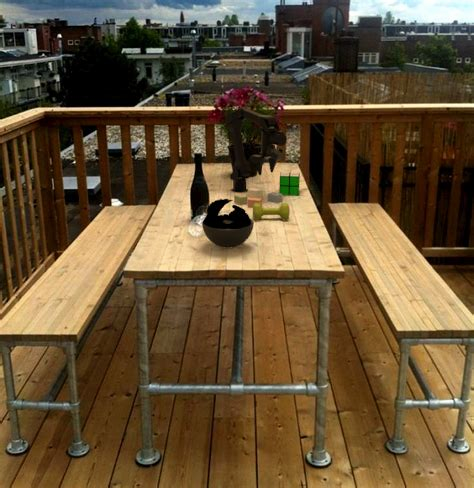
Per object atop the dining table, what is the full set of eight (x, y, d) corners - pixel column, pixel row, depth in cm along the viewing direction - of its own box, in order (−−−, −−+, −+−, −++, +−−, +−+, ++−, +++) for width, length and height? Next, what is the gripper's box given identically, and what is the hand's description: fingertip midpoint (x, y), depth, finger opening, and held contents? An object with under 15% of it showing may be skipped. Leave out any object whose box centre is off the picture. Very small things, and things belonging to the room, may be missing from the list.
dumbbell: (288, 216, 287) (288, 201, 284) (290, 221, 279) (290, 206, 277) (252, 216, 286) (252, 201, 284) (252, 222, 279) (253, 206, 276)
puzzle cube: (299, 190, 330) (299, 172, 327) (298, 195, 321) (299, 176, 318) (279, 190, 331) (280, 171, 328) (279, 195, 322) (279, 176, 319)
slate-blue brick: (267, 201, 311) (267, 193, 309) (272, 199, 314) (272, 192, 312) (277, 203, 307) (277, 195, 306) (282, 202, 310) (282, 194, 309)
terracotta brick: (247, 207, 300) (247, 199, 299) (249, 205, 304) (250, 197, 302) (259, 208, 298) (259, 200, 297) (261, 206, 302) (262, 198, 301)
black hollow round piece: (204, 237, 257) (203, 193, 251) (253, 238, 257) (254, 193, 251) (200, 254, 239) (199, 207, 232) (253, 255, 238) (253, 207, 232)
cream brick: (247, 196, 319) (247, 189, 318) (252, 195, 322) (252, 187, 320) (256, 198, 315) (256, 191, 314) (261, 197, 318) (262, 189, 317)
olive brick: (234, 202, 308) (234, 194, 307) (241, 201, 310) (241, 193, 309) (240, 205, 303) (240, 197, 302) (247, 204, 305) (247, 196, 304)
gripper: (268, 147, 295) (266, 180, 301) (292, 142, 308) (290, 173, 314) (250, 144, 302) (249, 175, 307) (274, 138, 315) (272, 169, 321)
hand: (265, 173), depth 312 cm, fingers open, 9 cm apart
